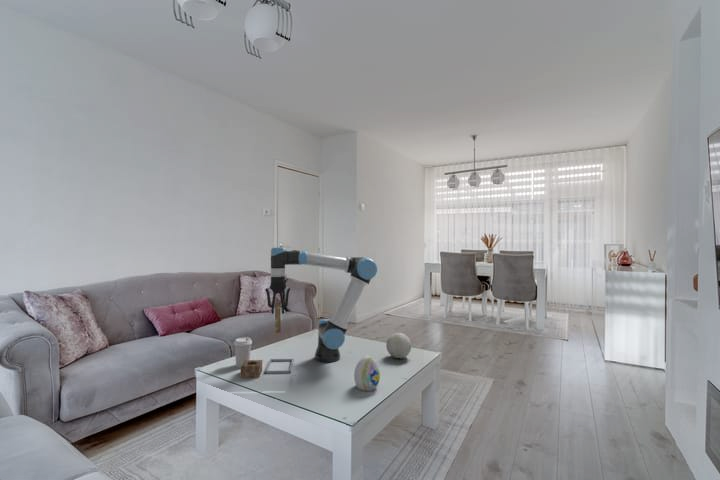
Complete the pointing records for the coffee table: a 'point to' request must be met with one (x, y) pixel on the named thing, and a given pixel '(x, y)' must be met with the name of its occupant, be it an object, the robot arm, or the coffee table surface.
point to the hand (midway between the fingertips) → (278, 319)
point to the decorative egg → (367, 374)
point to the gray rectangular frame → (279, 371)
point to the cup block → (251, 369)
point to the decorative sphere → (398, 345)
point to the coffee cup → (242, 350)
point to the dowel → (277, 317)
